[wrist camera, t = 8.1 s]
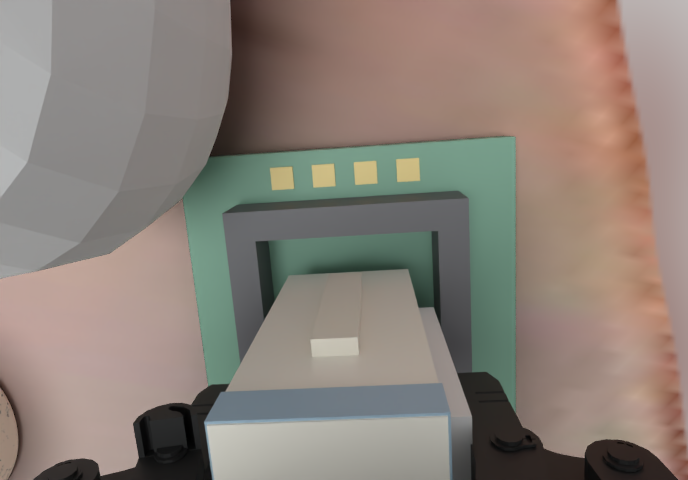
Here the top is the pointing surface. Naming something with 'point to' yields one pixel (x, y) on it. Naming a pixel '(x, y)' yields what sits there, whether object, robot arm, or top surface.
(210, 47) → the white round bottle
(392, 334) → the plug
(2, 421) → the teacup with lid
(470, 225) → the header board
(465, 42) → the top surface
